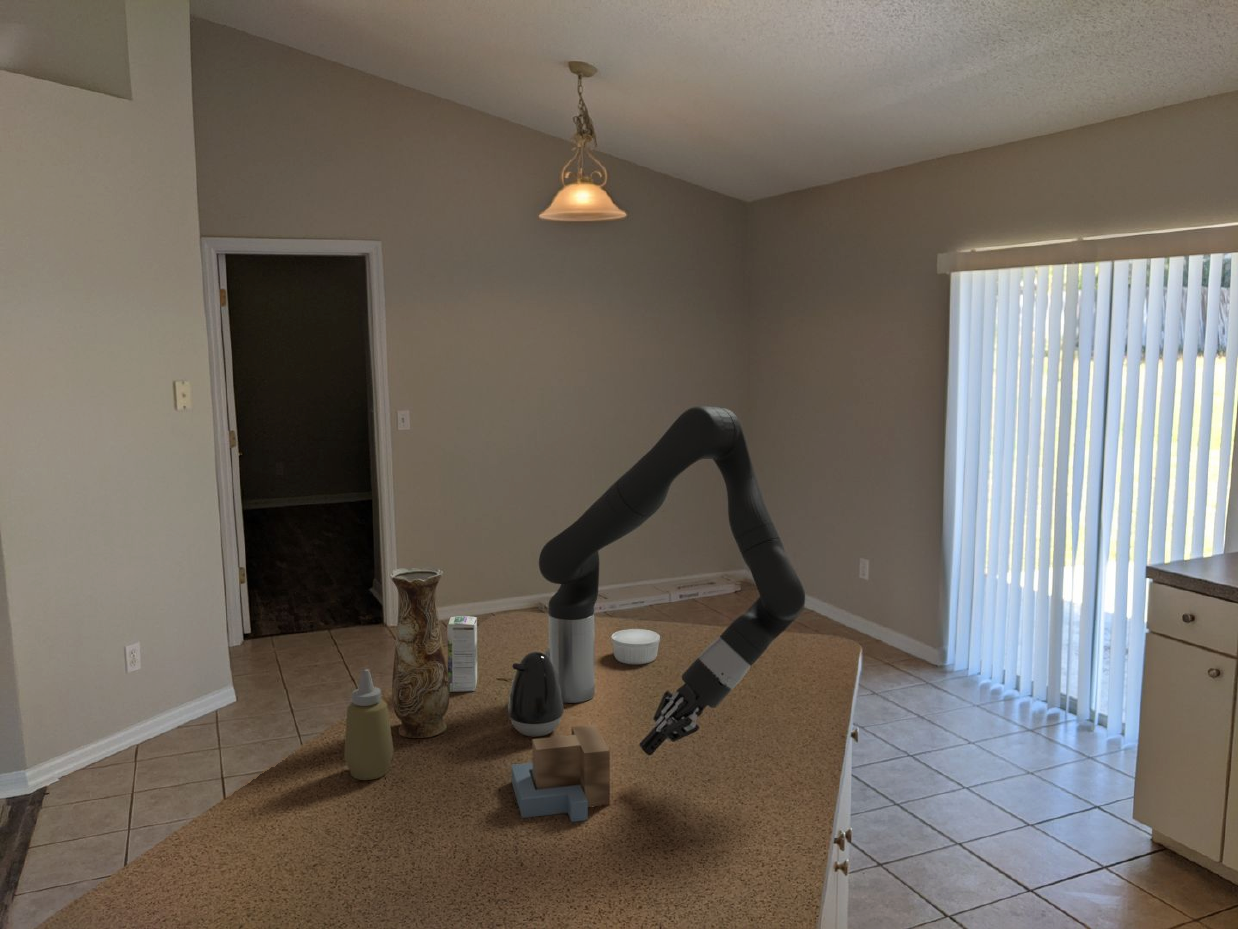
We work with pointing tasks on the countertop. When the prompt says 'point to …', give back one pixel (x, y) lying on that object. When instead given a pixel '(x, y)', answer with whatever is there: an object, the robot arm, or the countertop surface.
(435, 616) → the vase
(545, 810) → the t socket
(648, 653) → the ramekin
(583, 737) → the t block
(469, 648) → the syrup box
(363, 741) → the squeeze bottle
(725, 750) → the countertop surface
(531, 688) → the roly-poly penguin toy
